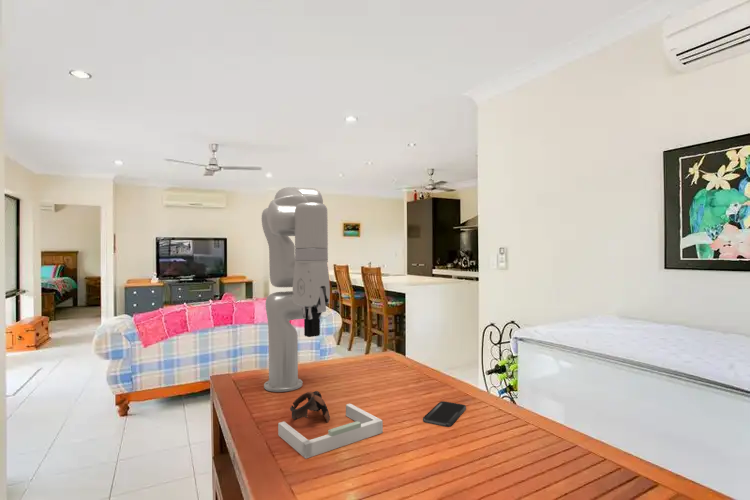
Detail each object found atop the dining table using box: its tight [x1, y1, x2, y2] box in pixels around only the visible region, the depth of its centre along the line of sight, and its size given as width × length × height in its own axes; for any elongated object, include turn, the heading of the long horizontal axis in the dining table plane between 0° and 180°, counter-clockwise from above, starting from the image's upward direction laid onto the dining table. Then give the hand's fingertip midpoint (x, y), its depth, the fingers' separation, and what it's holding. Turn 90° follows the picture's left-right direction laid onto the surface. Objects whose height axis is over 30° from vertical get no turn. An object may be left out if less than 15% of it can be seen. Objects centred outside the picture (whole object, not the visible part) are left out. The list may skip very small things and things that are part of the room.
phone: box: [422, 400, 467, 428], centre depth 112 cm, size 8×1×15 cm
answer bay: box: [277, 403, 384, 460], centre depth 100 cm, size 14×21×4 cm
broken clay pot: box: [289, 390, 331, 423], centre depth 110 cm, size 12×10×8 cm
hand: (312, 335), depth 94 cm, fingers closed
